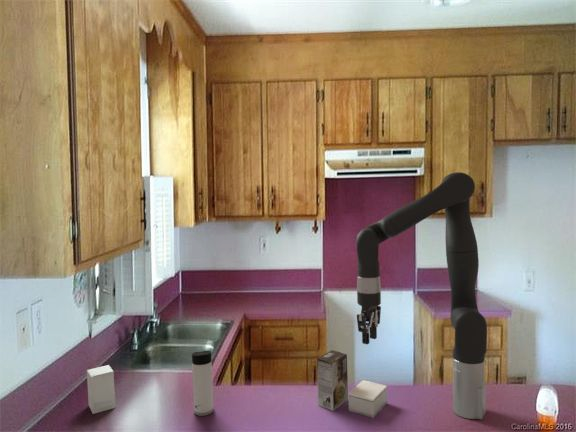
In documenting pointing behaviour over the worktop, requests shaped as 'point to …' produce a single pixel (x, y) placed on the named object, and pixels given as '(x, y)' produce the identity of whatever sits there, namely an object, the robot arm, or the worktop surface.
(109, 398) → the supplement box
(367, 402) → the white box
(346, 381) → the coffee box
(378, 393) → the lid
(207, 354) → the travel mug
